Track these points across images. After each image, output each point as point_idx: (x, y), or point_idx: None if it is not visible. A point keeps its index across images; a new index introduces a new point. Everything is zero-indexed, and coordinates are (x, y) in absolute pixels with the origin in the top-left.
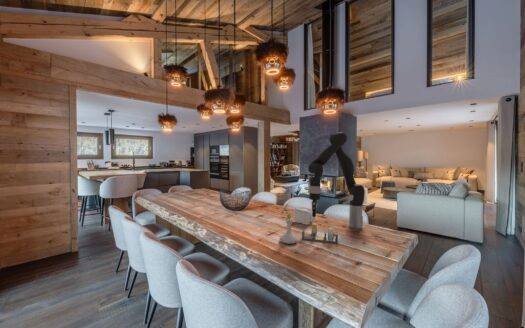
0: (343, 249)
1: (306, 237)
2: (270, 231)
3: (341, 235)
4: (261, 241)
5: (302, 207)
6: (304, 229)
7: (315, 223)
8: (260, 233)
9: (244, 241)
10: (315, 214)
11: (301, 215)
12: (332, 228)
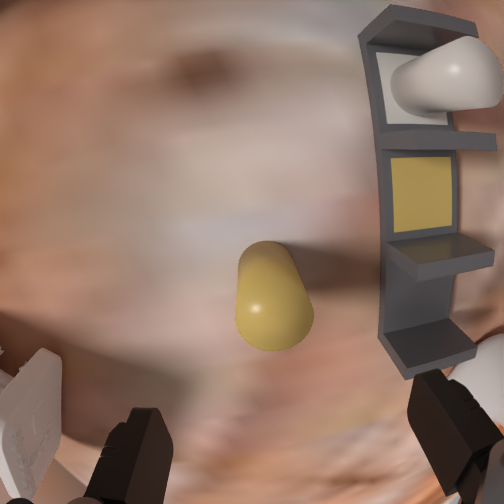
0: (495, 30)
1: (426, 305)
2: (326, 493)
3: (194, 4)
4: None
5: None
6: (416, 363)
7: (241, 309)
8: (368, 501)
9: None
10: (458, 400)
11: (37, 445)
12: (465, 50)
